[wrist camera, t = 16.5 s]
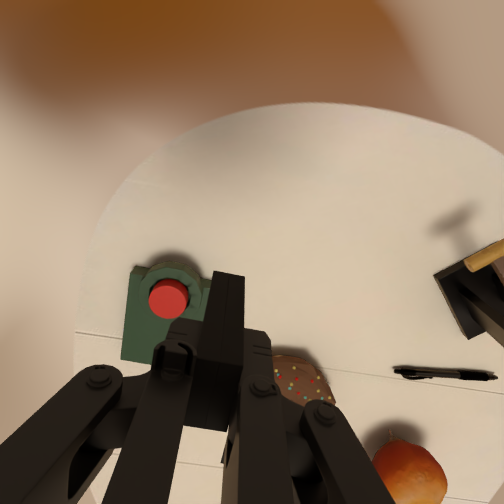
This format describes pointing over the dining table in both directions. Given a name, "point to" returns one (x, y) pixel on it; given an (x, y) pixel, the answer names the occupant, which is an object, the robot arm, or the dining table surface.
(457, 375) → the pen
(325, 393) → the donut
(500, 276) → the lever
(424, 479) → the fruit
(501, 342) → the switch bracket
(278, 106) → the dining table surface
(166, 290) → the button
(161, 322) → the button block
